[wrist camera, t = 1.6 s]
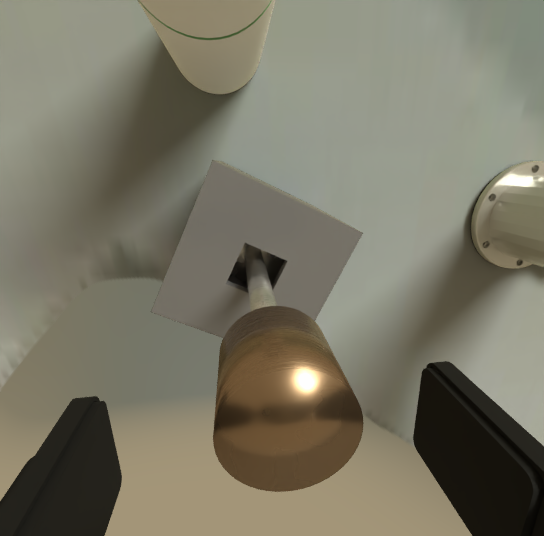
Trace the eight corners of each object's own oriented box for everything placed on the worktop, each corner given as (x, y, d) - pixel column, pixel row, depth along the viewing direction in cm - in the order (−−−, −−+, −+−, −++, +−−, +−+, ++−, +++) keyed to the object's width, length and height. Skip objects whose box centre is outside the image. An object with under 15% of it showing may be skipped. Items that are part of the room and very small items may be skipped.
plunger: (313, 229, 28) (476, 365, 9) (274, 307, 30) (342, 554, 11) (227, 189, 26) (212, 256, 7) (191, 274, 28) (103, 503, 9)
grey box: (313, 206, 37) (363, 232, 23) (271, 290, 39) (292, 362, 25) (221, 161, 34) (212, 160, 20) (182, 254, 37) (150, 312, 23)
